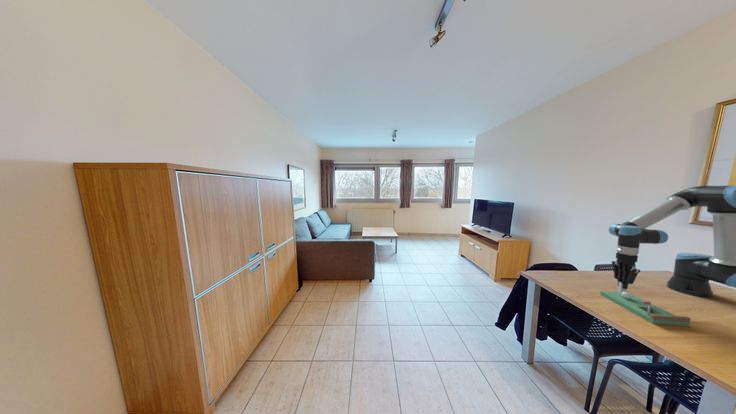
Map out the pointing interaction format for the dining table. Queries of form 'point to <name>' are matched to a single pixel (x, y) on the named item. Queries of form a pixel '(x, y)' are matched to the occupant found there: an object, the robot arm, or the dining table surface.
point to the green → (642, 306)
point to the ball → (627, 295)
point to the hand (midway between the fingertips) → (621, 293)
